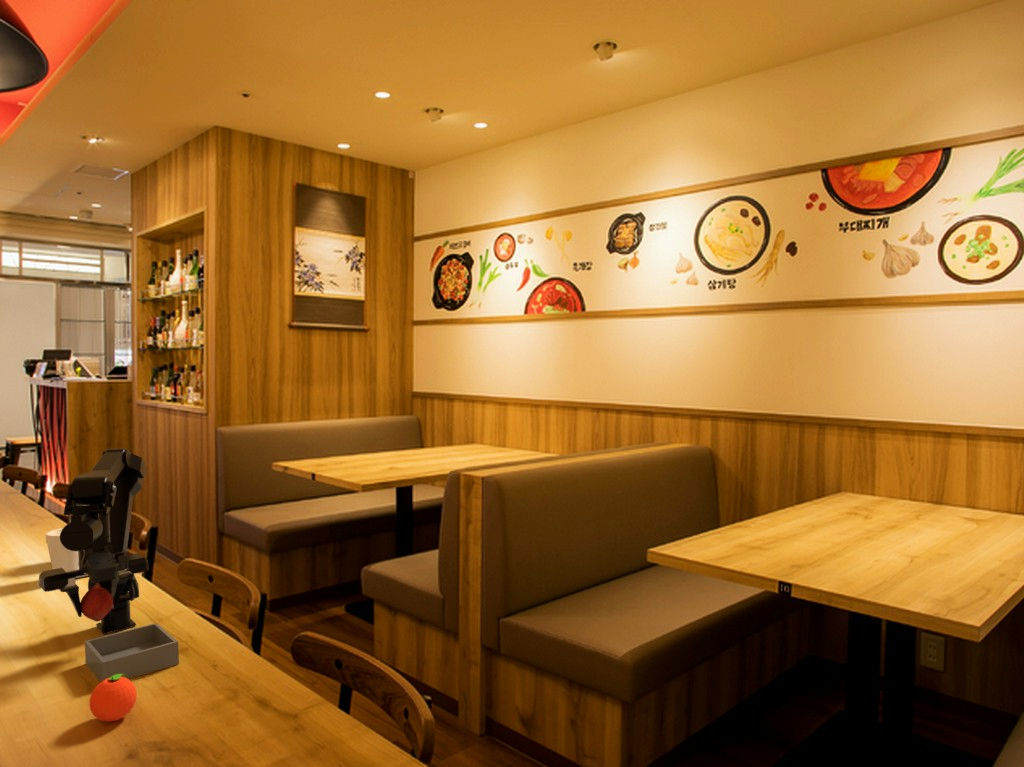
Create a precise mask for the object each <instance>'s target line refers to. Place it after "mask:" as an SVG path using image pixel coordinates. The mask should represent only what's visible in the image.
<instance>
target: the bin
mask: <svg viewBox="0 0 1024 767" xmlns="http://www.w3.org/2000/svg"><path fill="white" fill-rule="evenodd" d="M179 651H180V650H179V640H177V639H176V638H175V637H174V636H172V634H170V633H169V632H168V631H167V630H165V629H164V628H163V627H162V626H161V625H160V624H158V623H157V622H154V623H150V624H145V625H143V626H139V627H134V628H131V629H126V630H123V631H119V632H115V633H111V634H108V635H104V636H100V637H95V638H91V639H88V640H84V654H85V656H84V658H85V664H86V665H85V666H87V667H88V668H89V670H90V671H91V672H92V674H93V675H94V676H95V678H96V679H97V680H98V681H99V684H100V683H101V682H102V681H104V680H105V679H107V678H110V677H112V676H113V675H116V674H125V676H126V678H127V679H129V680H131V679H134V678H137V677H140V676H144V675H147V674H151V673H154V672H158V671H160V670H164V669H167V668H170V667H171V668H172V667H174V666H177V665H180V654H179V653H180V652H179ZM121 677H124V676H121Z"/></svg>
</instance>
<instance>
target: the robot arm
mask: <svg viewBox="0 0 1024 767" xmlns="http://www.w3.org/2000/svg"><path fill="white" fill-rule="evenodd" d="M147 472H148V471H147V463H146V462H145V461H144V459H143V458H142V456H139V455H137V454H134V453H133V452H131V451H130V450H129V449H128V448H120V447H119V448H107V449H104V450H103V452H102V456H101V457H100V459H99V460H98V461H97V462H96V463H95V465H94V466H93V467H92V469H91V470H90V471H88V472H85V473H84V472H83V473H81V474H79V475H77V476H76V477H74V479H73V480H72V481H71V483H70V484H69V485H68V488H67V493H66V500H65V505H64V510H63V516H68V515H72V516H71V522H70V523H69V522H68V523H67V524H66V525H64V527H62V528H63V529H62V531H61V534H60V541H61V543H62V545H63V546H64V547H65V548H66V549H68V550H71V551H78V558H79V562H78V566H79V570H74V571H69V572H66V571H65V570H64V569H63V568H58V569H48V570H43V571H41V572H40V573H39V576H38V581H39V583H38V584H39V588H41V589H42V590H43V591H44V593H47V592H52V591H58V590H59V592H61V593H66V595H67V596H68V597H69V599H70V601H71V604H72V605H73V607H74V610H75V612H76V614H77V616H78V617H79V618H81V617H82V614H83V613H82V609H81V604H80V602H81V600H80V586H79V585H78V584H76V581H78V580H77V579H79V580H82V579H87V578H88V582H87V589H88V590H90V589H91V588H92V587H93V586H94V585H95V584H96V583H99V584H100V587H102V588H104V589H106V590H107V591H108V592H109V593H110V594H111V596H112V598H113V606H112V608H111V610H110V611H109V613H108V614H107V615H106V616H104V617H103V619H102V620H101V621H100V622H96V627H97V629H98V630H100V632H101V633H103V634H108V633H109V634H110V633H113V632H117V631H120V630H124V629H128V628H132V627H136V626H137V624H136V622H135V621H134V620H133V619H132V618H131V601H134V600H135V599H138V598H139V597H140V586H139V582H138V580H137V578H136V575H135V574H140V573H144V572H148V571H149V569H150V567H149V564H150V563H149V560H148V558H146V557H145V556H143V555H142V554H141V553H139V552H137V553H132V554H128V547H129V546H128V544H129V538H130V530H131V523H132V521H131V520H132V512H133V504H134V503H133V502H134V497H136V495H137V494H138V493H139V492H140V491H141V490H142V488H143V486H144V485H143V483H144V480H145V479H146V477H147ZM80 505H84V506H80ZM88 590H87V591H88Z"/></svg>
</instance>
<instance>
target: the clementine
mask: <svg viewBox="0 0 1024 767" xmlns="http://www.w3.org/2000/svg"><path fill="white" fill-rule="evenodd" d="M121 676H124V677H121ZM136 688H137V687H136V686H135V685H134V682H132V681H131V679H127V678H126V676H125V674H116V675H113V676H112V677H110V678H107V679H105V680H104V681H102V682H101V683H100V682H99V683H98V684H97V685H96V686H95V688H94V689H93V690H92V693H91V695H90V697H89V709H90V711H91V713H92V715H93V716H94V717H95V718H97V720H99V721H103V722H106V723H107V722H115V721H119V720H121V719H122V718H124V717H126V715H128V714H129V713H130V712H131V710H132V709H133V708H134V706H135V704H136V702H137V689H136Z"/></svg>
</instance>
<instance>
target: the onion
mask: <svg viewBox="0 0 1024 767" xmlns="http://www.w3.org/2000/svg"><path fill="white" fill-rule="evenodd" d="M80 604H81V609H82V614H83V616H84V617H86V619H89V620H91V621H94V622H96V623H99V622H101V620H102V619H103V617H104V616H106V615H107V614H108V613H109V611H110V610H111V608H112V606H113V598H112V596H111V594H110V593H109V592H108V591H107V590H106V589H104V588H102V587H100V584H99V583H96V584H95V585H94V586H93V587H92V588H91V589H90V590H87V591H86V592H85V594H84V595H83V596H82V598H81V600H80Z"/></svg>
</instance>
